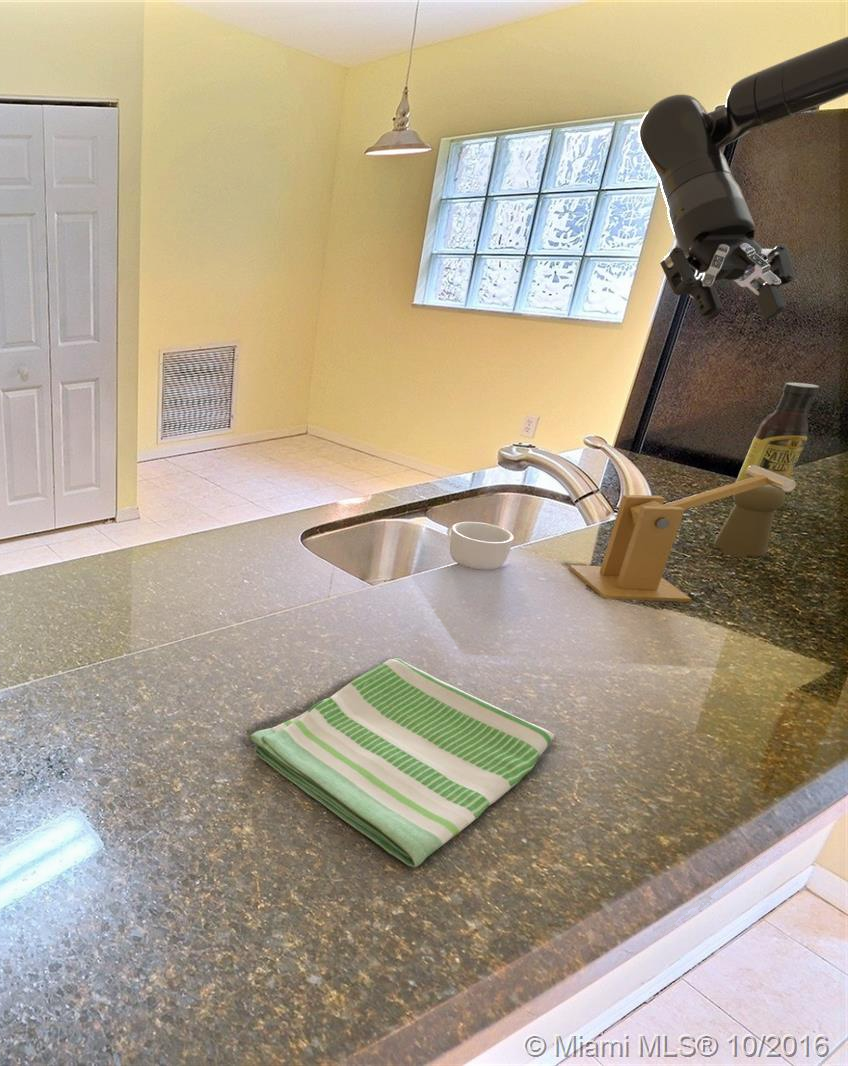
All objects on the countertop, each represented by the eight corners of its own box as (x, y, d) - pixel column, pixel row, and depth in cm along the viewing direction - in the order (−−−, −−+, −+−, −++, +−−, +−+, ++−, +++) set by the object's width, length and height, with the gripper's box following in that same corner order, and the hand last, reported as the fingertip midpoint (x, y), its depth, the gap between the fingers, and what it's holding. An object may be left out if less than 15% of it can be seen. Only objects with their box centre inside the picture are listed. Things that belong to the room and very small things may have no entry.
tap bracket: (645, 576, 98) (674, 490, 93) (688, 608, 90) (722, 515, 85) (567, 573, 100) (591, 489, 95) (601, 604, 92) (629, 513, 87)
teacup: (518, 573, 101) (527, 539, 99) (472, 580, 99) (480, 546, 97) (465, 546, 110) (472, 514, 108) (423, 552, 108) (429, 520, 106)
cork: (711, 544, 107) (736, 475, 103) (765, 555, 103) (794, 484, 99) (706, 556, 103) (732, 486, 99) (763, 568, 99) (792, 495, 95)
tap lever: (760, 476, 90) (757, 459, 89) (797, 492, 84) (795, 474, 84) (625, 517, 94) (621, 502, 94) (652, 535, 89) (648, 519, 88)
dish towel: (242, 749, 69) (244, 727, 68) (386, 669, 80) (390, 649, 79) (413, 875, 55) (419, 849, 54) (559, 757, 66) (566, 734, 65)
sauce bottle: (747, 503, 121) (791, 388, 113) (722, 491, 127) (762, 380, 119) (791, 504, 120) (839, 388, 112) (764, 491, 126) (807, 380, 118)
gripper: (669, 197, 95) (704, 297, 88) (790, 192, 93) (834, 293, 87) (633, 239, 101) (662, 334, 95) (744, 235, 100) (782, 332, 93)
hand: (744, 314), depth 91 cm, fingers open, 6 cm apart
